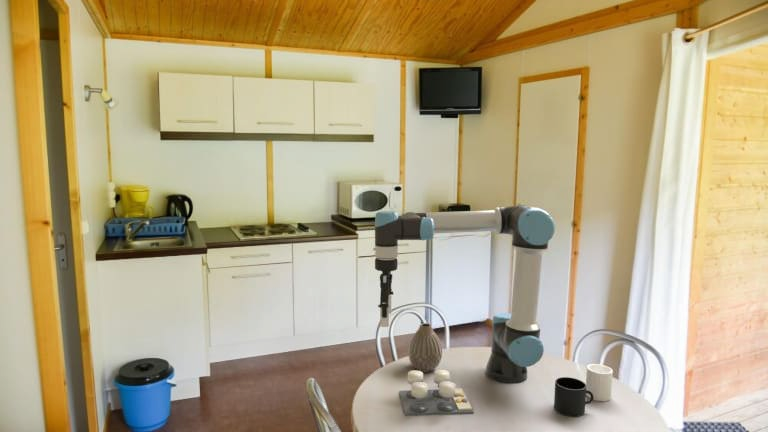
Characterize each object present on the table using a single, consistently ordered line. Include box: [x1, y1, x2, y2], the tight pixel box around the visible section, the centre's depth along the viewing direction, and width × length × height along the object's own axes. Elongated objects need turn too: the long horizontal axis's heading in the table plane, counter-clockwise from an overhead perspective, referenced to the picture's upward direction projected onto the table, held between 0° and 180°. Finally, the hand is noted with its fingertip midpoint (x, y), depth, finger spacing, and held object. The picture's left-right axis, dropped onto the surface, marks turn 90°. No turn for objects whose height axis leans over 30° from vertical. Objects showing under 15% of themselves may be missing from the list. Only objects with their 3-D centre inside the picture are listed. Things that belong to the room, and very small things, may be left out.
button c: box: [407, 369, 424, 386], centre depth 171 cm, size 5×5×5 cm
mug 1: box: [553, 376, 593, 418], centre depth 163 cm, size 9×12×9 cm
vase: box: [407, 323, 443, 373], centre depth 194 cm, size 13×13×18 cm
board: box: [399, 388, 474, 417], centre depth 168 cm, size 22×16×2 cm
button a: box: [433, 369, 450, 389], centre depth 172 cm, size 5×5×5 cm
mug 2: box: [585, 363, 614, 402], centre depth 175 cm, size 8×12×10 cm, turn 7°
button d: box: [410, 381, 429, 402], centre depth 162 cm, size 5×5×5 cm
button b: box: [438, 380, 456, 401], centre depth 163 cm, size 5×5×5 cm
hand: (386, 319), depth 170 cm, fingers open, 13 cm apart
